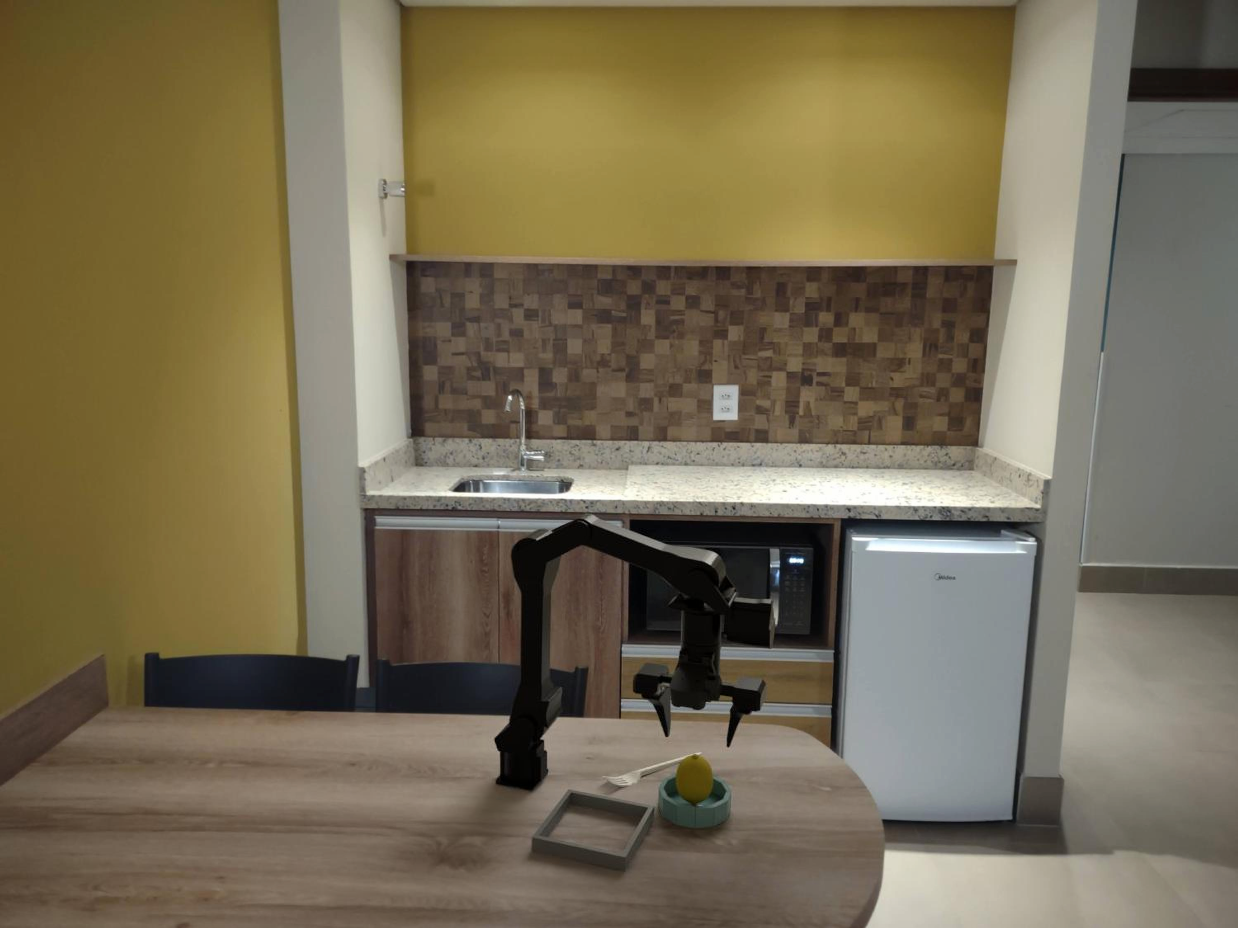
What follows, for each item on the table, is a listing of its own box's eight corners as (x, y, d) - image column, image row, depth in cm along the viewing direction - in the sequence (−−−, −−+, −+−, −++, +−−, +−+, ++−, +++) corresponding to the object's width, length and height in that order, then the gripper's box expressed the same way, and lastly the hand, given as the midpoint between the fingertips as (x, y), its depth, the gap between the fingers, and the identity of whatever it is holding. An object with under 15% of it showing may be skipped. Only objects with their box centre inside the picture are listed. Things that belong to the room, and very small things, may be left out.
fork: (708, 760, 153) (709, 750, 153) (610, 794, 141) (611, 782, 141) (695, 752, 156) (696, 742, 155) (598, 784, 144) (599, 773, 143)
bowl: (650, 819, 134) (651, 800, 133) (669, 784, 144) (670, 766, 143) (721, 833, 131) (721, 813, 130) (735, 797, 140) (736, 778, 140)
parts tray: (531, 850, 126) (531, 836, 125) (568, 801, 138) (568, 789, 138) (625, 870, 122) (625, 857, 121) (654, 818, 134) (654, 805, 134)
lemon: (710, 816, 134) (712, 765, 132) (672, 812, 135) (673, 761, 133) (714, 797, 139) (716, 747, 138) (677, 792, 140) (679, 743, 139)
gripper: (621, 650, 128) (619, 755, 131) (755, 668, 122) (750, 778, 125) (644, 624, 138) (643, 722, 141) (769, 640, 132) (764, 742, 135)
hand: (697, 740), depth 135 cm, fingers open, 9 cm apart
